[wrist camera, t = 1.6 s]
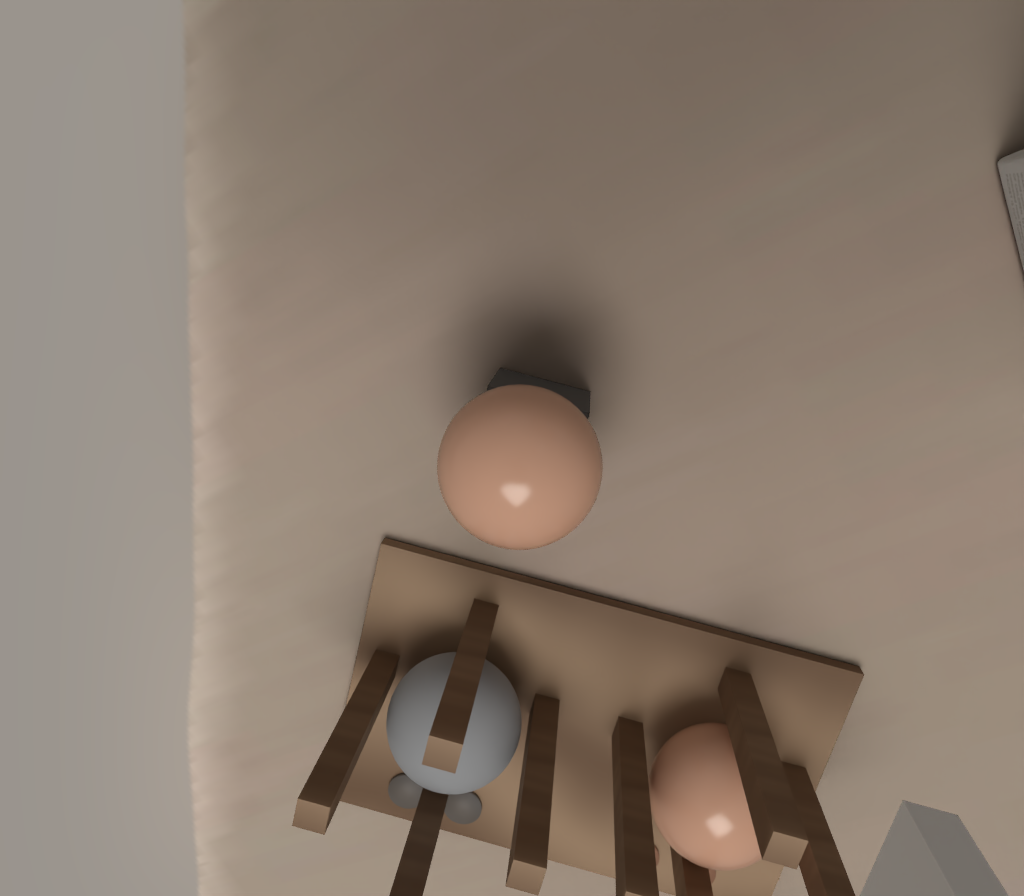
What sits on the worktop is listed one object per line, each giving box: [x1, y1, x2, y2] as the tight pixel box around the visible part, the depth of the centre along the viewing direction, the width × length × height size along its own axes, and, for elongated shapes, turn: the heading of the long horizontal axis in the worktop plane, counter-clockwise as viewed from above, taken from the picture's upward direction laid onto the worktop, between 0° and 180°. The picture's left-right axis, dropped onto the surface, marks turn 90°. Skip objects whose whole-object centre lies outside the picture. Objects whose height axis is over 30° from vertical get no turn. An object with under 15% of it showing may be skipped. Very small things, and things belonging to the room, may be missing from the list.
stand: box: [487, 368, 590, 419], centre depth 29 cm, size 3×3×4 cm
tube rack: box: [292, 538, 864, 896], centre depth 29 cm, size 12×19×10 cm, turn 76°
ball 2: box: [648, 723, 762, 871], centre depth 30 cm, size 5×5×5 cm
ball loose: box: [437, 384, 603, 550], centre depth 25 cm, size 5×5×5 cm
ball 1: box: [386, 652, 522, 795], centre depth 30 cm, size 5×5×5 cm
